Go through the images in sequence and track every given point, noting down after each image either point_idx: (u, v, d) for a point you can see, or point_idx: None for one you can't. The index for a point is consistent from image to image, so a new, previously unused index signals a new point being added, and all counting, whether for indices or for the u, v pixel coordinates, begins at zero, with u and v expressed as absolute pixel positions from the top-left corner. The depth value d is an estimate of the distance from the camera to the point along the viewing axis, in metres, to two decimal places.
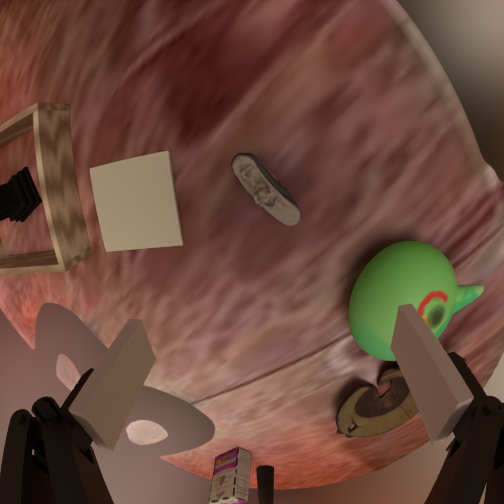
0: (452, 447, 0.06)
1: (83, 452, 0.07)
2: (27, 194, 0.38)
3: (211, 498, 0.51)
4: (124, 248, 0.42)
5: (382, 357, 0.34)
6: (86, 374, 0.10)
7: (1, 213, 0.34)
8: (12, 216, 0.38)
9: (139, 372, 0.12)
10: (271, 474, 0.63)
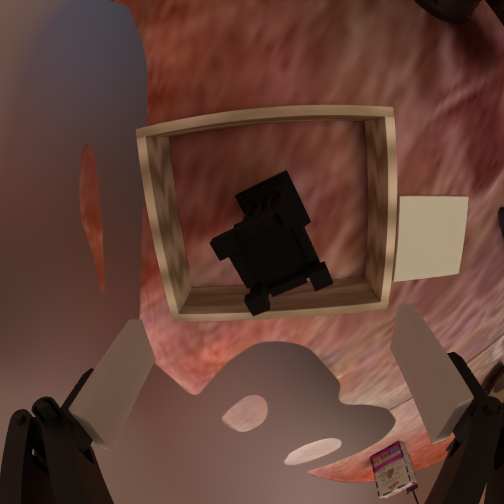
0: (452, 447, 0.06)
1: (83, 452, 0.07)
2: None
3: (382, 492, 0.50)
4: (413, 278, 0.42)
5: None
6: (86, 374, 0.10)
7: None
8: None
9: (139, 372, 0.12)
10: (410, 460, 0.63)
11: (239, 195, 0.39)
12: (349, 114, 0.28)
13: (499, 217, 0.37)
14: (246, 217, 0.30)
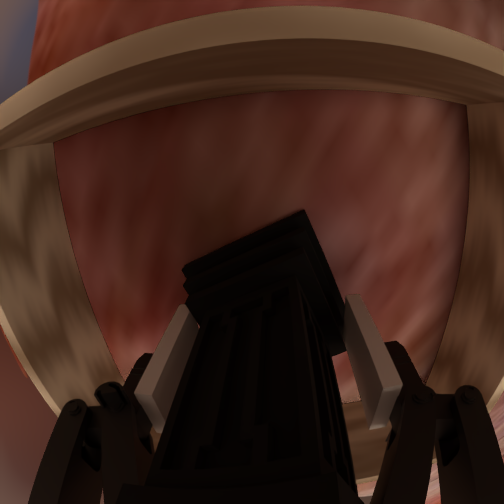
0: (389, 439, 0.08)
1: (144, 438, 0.09)
2: (336, 311, 0.15)
3: None
4: None
5: None
6: (141, 358, 0.12)
7: None
8: None
9: None
10: None
11: (191, 269, 0.17)
12: (499, 73, 0.05)
13: None
14: (176, 415, 0.08)
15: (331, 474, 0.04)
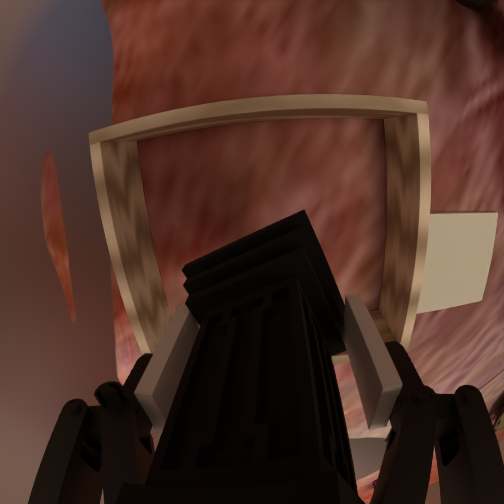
0: (389, 438, 0.08)
1: (145, 438, 0.09)
2: (336, 311, 0.15)
3: None
4: (434, 308, 0.33)
5: None
6: (141, 358, 0.12)
7: None
8: None
9: None
10: None
11: (191, 269, 0.17)
12: (371, 108, 0.19)
13: None
14: (176, 415, 0.08)
15: (331, 473, 0.04)
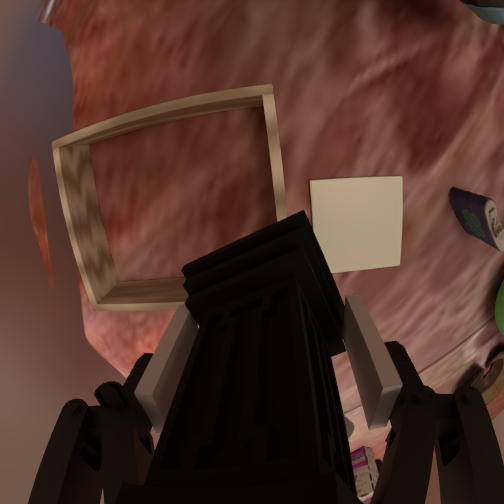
0: (389, 438, 0.08)
1: (145, 438, 0.09)
2: (335, 311, 0.15)
3: None
4: (340, 270, 0.42)
5: None
6: (141, 358, 0.12)
7: None
8: None
9: None
10: None
11: (191, 269, 0.17)
12: (222, 99, 0.28)
13: (450, 199, 0.37)
14: (175, 415, 0.08)
15: (330, 474, 0.04)
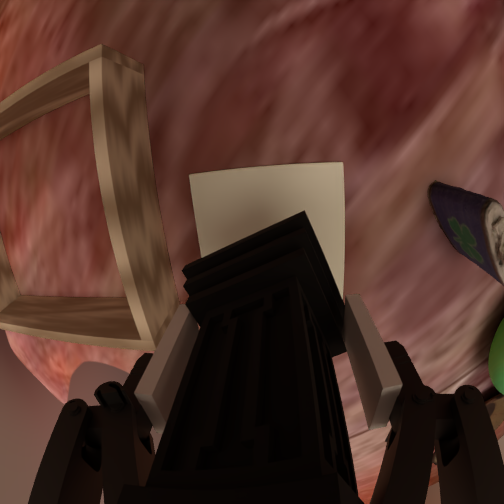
0: (389, 438, 0.08)
1: (145, 438, 0.09)
2: (336, 311, 0.15)
3: None
4: None
5: None
6: (141, 358, 0.12)
7: None
8: None
9: None
10: None
11: (191, 269, 0.17)
12: (51, 80, 0.15)
13: (430, 200, 0.24)
14: (177, 416, 0.08)
15: (332, 475, 0.04)
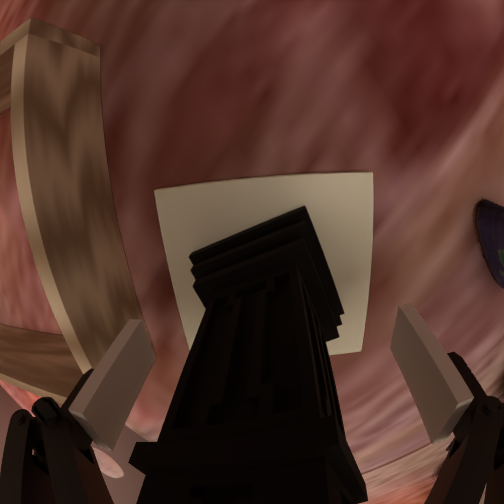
0: (452, 447, 0.06)
1: (83, 452, 0.07)
2: (330, 300, 0.17)
3: None
4: None
5: None
6: (86, 374, 0.10)
7: None
8: None
9: (139, 372, 0.12)
10: None
11: (198, 256, 0.18)
12: None
13: (476, 223, 0.17)
14: (186, 381, 0.09)
15: (330, 417, 0.05)
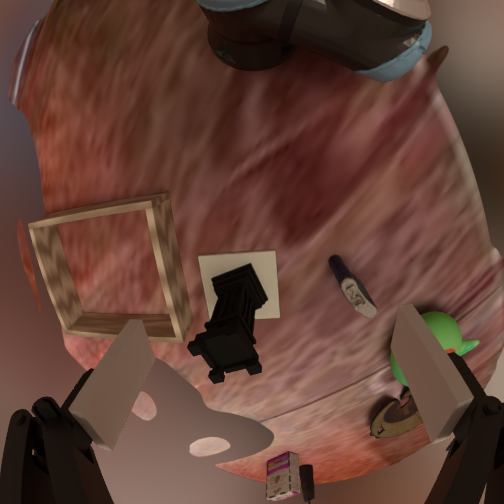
0: (452, 447, 0.06)
1: (83, 452, 0.07)
2: (259, 295, 0.51)
3: (268, 495, 0.64)
4: None
5: None
6: (86, 374, 0.10)
7: None
8: None
9: (139, 372, 0.12)
10: (311, 471, 0.77)
11: (214, 279, 0.52)
12: (122, 211, 0.42)
13: (329, 265, 0.51)
14: (214, 312, 0.43)
15: (239, 311, 0.39)
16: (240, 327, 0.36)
